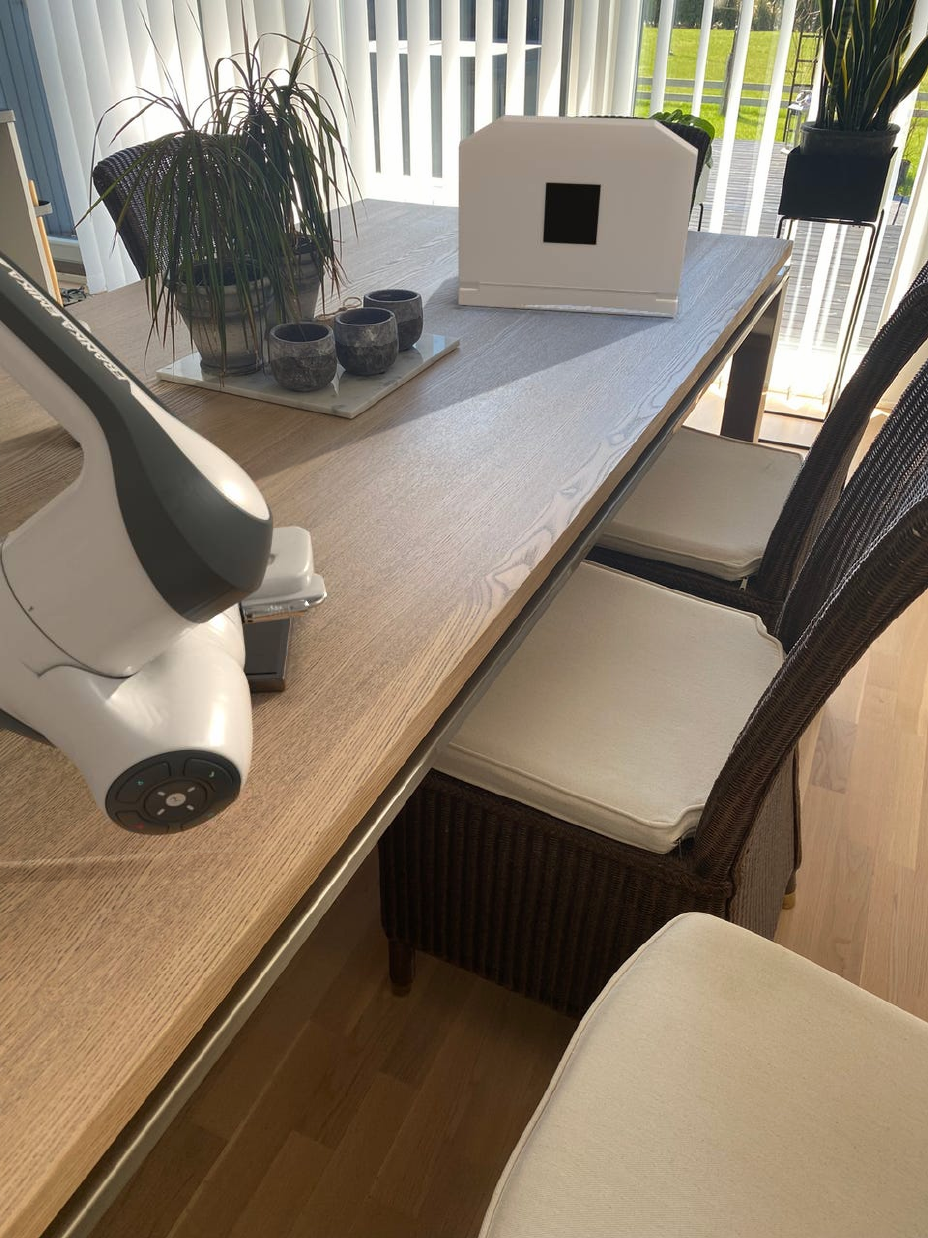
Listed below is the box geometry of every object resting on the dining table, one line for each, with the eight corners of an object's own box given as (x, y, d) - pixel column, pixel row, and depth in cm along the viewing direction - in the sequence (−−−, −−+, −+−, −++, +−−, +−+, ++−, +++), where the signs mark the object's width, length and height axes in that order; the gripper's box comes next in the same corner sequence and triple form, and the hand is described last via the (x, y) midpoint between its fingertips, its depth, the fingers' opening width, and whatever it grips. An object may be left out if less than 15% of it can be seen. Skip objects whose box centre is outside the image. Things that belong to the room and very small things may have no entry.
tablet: (94, 700, 70) (90, 686, 69) (142, 569, 85) (139, 557, 84) (285, 691, 71) (283, 677, 70) (300, 563, 86) (299, 551, 85)
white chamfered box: (675, 274, 162) (697, 99, 147) (675, 318, 143) (702, 122, 127) (482, 264, 167) (485, 93, 152) (458, 305, 147) (458, 114, 132)
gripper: (327, 568, 63) (303, 477, 74) (-4, 611, 58) (23, 508, 69) (334, 645, 66) (310, 547, 77) (23, 691, 62) (45, 580, 73)
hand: (172, 529), depth 73 cm, fingers closed on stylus, 3 cm apart
